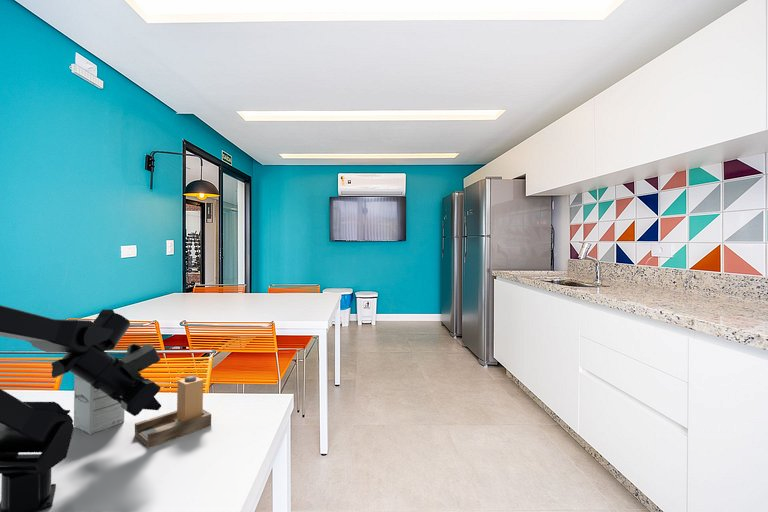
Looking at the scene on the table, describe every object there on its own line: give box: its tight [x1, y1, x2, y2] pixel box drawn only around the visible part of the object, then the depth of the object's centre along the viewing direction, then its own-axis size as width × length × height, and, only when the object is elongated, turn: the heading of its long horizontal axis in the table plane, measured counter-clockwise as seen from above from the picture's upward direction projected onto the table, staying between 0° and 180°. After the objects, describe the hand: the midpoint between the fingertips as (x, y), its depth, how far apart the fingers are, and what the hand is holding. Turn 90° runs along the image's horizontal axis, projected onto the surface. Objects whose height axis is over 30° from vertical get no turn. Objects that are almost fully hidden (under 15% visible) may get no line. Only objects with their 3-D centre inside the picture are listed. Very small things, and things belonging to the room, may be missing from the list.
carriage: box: [176, 375, 204, 422], centre depth 86 cm, size 4×4×10 cm
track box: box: [134, 409, 212, 449], centre depth 83 cm, size 13×8×3 cm, turn 143°
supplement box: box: [73, 375, 125, 435], centre depth 85 cm, size 7×7×13 cm
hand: (159, 407), depth 80 cm, fingers closed
